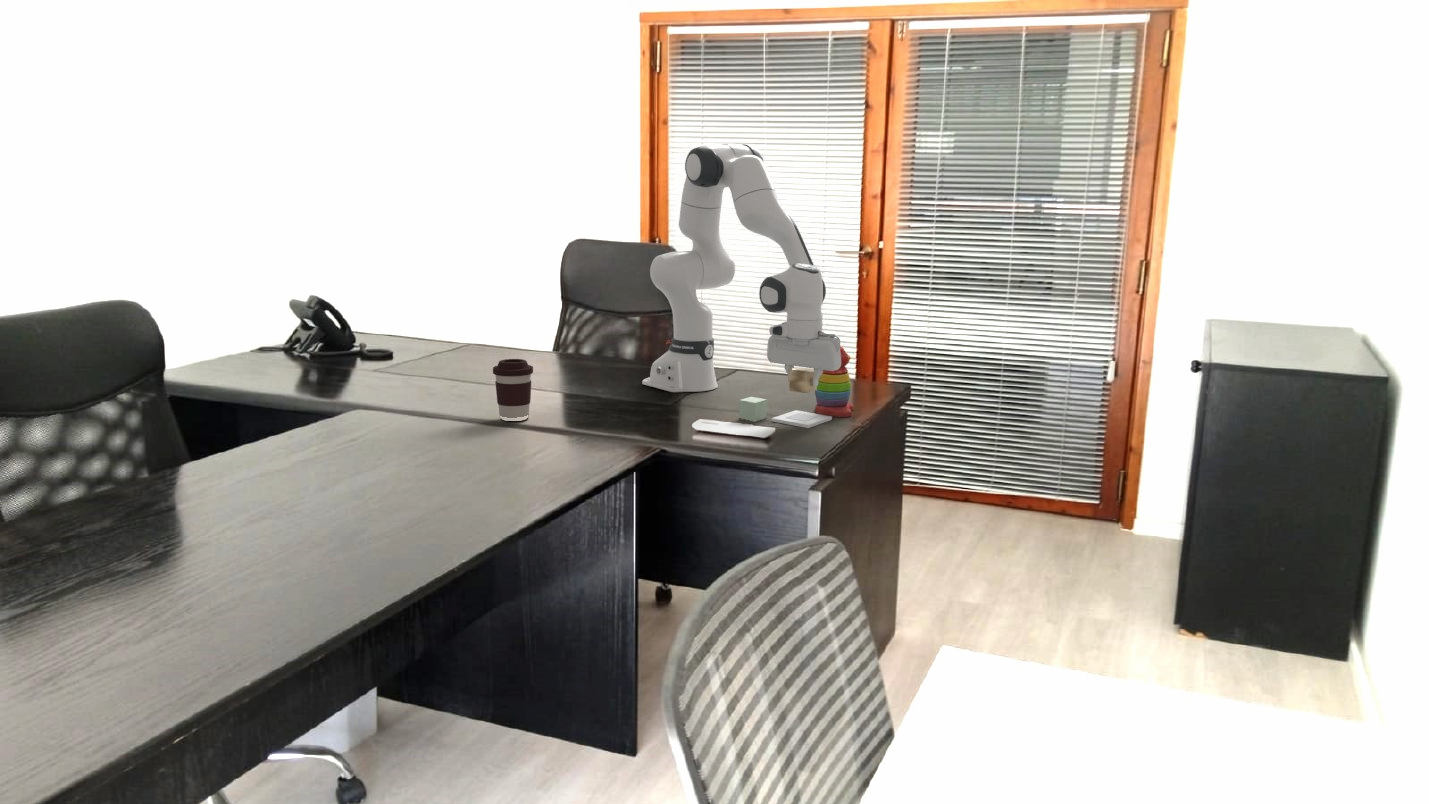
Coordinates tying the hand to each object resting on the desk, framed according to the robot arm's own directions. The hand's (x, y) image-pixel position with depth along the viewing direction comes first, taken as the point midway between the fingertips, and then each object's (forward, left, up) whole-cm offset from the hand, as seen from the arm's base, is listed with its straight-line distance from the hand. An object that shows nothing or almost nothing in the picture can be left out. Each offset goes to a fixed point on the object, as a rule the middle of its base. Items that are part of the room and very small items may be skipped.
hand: (803, 384), depth 278 cm
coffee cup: (-57, -45, -10) cm, 74 cm away
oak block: (0, 0, -2) cm, 2 cm away
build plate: (0, 0, -10) cm, 10 cm away
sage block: (-11, -6, -10) cm, 16 cm away
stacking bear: (+1, +13, -10) cm, 16 cm away
